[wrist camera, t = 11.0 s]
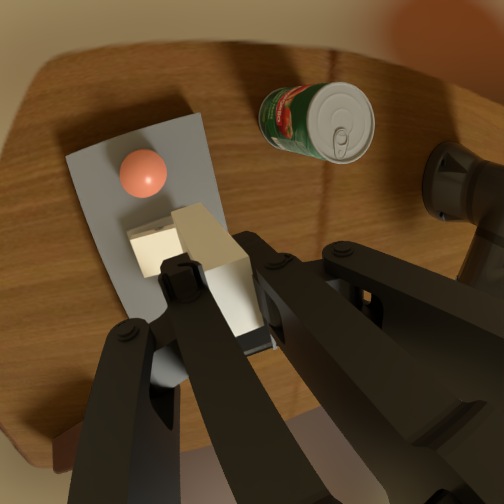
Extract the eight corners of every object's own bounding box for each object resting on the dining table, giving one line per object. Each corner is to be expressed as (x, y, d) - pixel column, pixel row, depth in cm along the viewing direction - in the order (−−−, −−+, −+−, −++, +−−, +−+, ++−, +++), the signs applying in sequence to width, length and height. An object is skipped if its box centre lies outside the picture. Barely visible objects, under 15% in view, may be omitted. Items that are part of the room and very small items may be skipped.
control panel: (194, 113, 32) (201, 112, 28) (238, 295, 43) (249, 310, 40) (70, 153, 28) (63, 157, 25) (141, 331, 39) (144, 349, 36)
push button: (155, 141, 31) (160, 144, 27) (165, 179, 33) (172, 188, 29) (115, 154, 30) (113, 159, 26) (127, 192, 32) (127, 204, 28)
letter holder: (162, 419, 48) (182, 488, 36) (91, 459, 46) (99, 520, 34) (121, 393, 42) (132, 469, 30) (51, 438, 41) (52, 503, 29)
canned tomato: (260, 83, 33) (311, 73, 24) (317, 92, 36) (378, 90, 26) (255, 149, 36) (304, 162, 27) (313, 152, 39) (370, 166, 30)
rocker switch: (188, 218, 31) (188, 224, 30) (199, 257, 33) (200, 263, 32) (132, 234, 31) (129, 240, 29) (146, 270, 33) (144, 277, 32)
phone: (296, 338, 50) (206, 370, 45) (293, 334, 50) (205, 365, 46) (295, 298, 46) (195, 331, 42) (291, 294, 47) (193, 326, 43)
